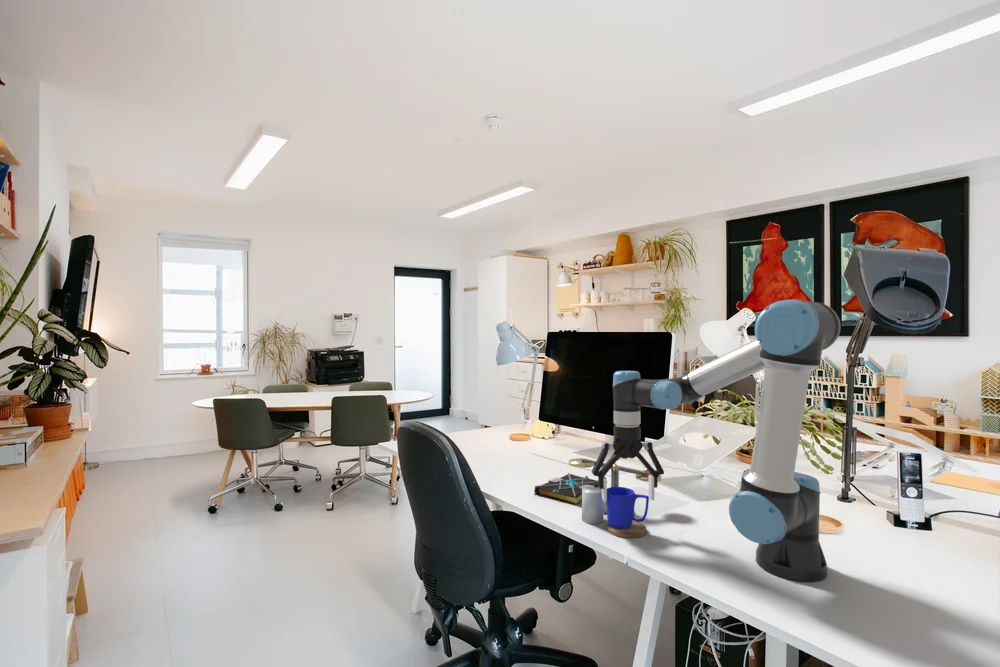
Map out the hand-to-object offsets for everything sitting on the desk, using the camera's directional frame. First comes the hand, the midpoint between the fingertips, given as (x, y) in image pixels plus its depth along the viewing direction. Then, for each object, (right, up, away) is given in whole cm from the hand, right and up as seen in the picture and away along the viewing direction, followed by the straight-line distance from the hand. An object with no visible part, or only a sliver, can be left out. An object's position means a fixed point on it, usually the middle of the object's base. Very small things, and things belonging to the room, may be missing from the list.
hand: (628, 499), depth 147 cm
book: (-11, -9, +34) cm, 37 cm away
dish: (0, -9, +1) cm, 9 cm away
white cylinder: (-9, -9, +8) cm, 15 cm away
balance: (0, -9, +18) cm, 20 cm away
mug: (0, -8, +1) cm, 8 cm away
